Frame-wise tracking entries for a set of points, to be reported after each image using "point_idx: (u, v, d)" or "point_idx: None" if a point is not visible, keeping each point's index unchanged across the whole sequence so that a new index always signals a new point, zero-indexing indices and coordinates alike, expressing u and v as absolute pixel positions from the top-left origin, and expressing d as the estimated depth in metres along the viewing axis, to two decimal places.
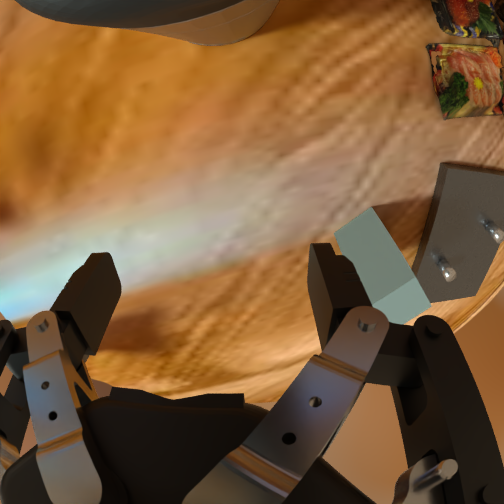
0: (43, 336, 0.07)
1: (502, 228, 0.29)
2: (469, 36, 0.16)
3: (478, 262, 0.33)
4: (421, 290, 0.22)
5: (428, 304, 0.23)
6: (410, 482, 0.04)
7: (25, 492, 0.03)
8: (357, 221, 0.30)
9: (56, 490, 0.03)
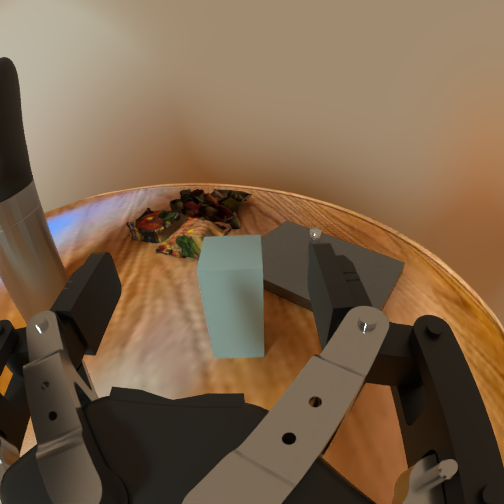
0: (43, 336, 0.07)
1: (324, 237, 0.44)
2: (165, 226, 0.48)
3: (352, 257, 0.40)
4: (226, 236, 0.27)
5: (254, 235, 0.27)
6: (410, 482, 0.04)
7: (25, 492, 0.03)
8: None
9: (56, 490, 0.03)
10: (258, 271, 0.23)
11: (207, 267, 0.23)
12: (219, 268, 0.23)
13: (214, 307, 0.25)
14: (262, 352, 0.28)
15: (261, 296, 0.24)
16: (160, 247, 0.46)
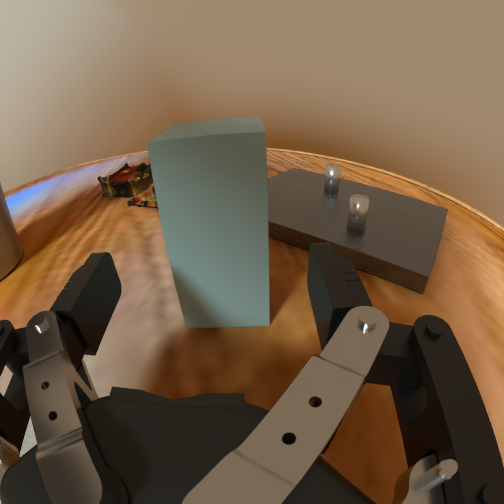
0: (43, 336, 0.07)
1: (343, 181, 0.33)
2: (142, 177, 0.37)
3: (383, 200, 0.29)
4: (207, 120, 0.16)
5: (250, 117, 0.16)
6: (410, 482, 0.04)
7: (25, 492, 0.03)
8: None
9: (56, 490, 0.03)
10: (258, 139, 0.12)
11: (167, 138, 0.12)
12: (186, 136, 0.12)
13: (180, 220, 0.14)
14: (266, 316, 0.17)
15: (263, 194, 0.13)
16: (133, 199, 0.35)
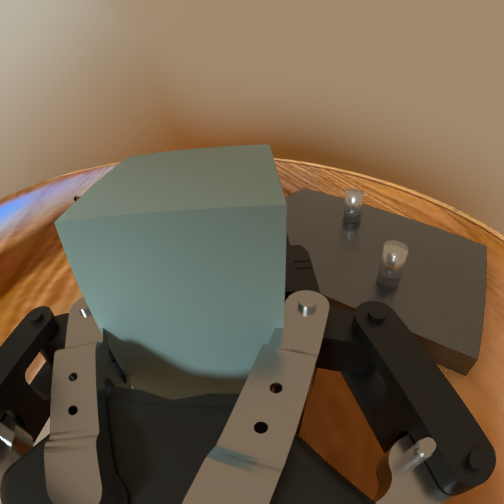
0: (85, 321, 0.08)
1: (364, 208, 0.27)
2: None
3: (414, 236, 0.22)
4: (180, 151, 0.10)
5: (252, 146, 0.10)
6: (391, 467, 0.05)
7: (26, 493, 0.03)
8: None
9: (56, 490, 0.03)
10: (270, 219, 0.06)
11: (89, 211, 0.06)
12: (121, 211, 0.06)
13: (135, 343, 0.08)
14: None
15: (277, 315, 0.07)
16: None
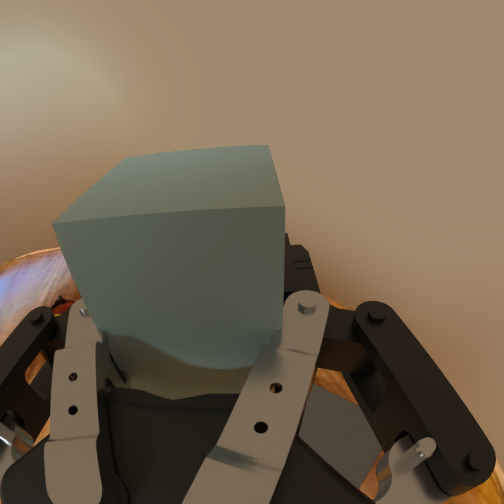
0: (85, 321, 0.08)
1: None
2: None
3: (314, 418, 0.23)
4: (178, 151, 0.10)
5: (251, 146, 0.09)
6: (391, 467, 0.05)
7: (25, 493, 0.03)
8: None
9: (56, 490, 0.03)
10: (268, 220, 0.06)
11: (87, 213, 0.06)
12: (118, 212, 0.06)
13: (133, 344, 0.08)
14: None
15: (276, 316, 0.07)
16: None
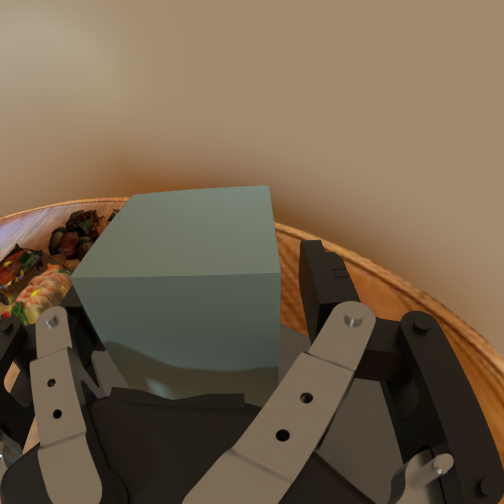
0: (52, 332, 0.07)
1: None
2: (15, 281, 0.24)
3: None
4: (183, 191, 0.10)
5: (252, 187, 0.10)
6: (406, 478, 0.04)
7: (25, 492, 0.03)
8: None
9: (56, 490, 0.03)
10: (266, 284, 0.06)
11: (102, 268, 0.07)
12: (132, 272, 0.06)
13: (146, 374, 0.08)
14: None
15: (273, 355, 0.08)
16: (2, 316, 0.21)
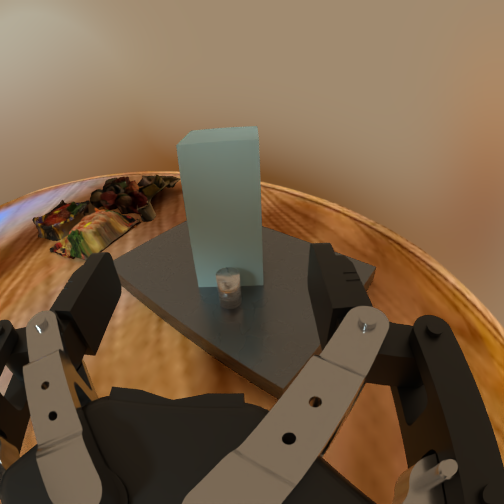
0: (43, 336, 0.07)
1: None
2: (66, 221, 0.35)
3: (288, 257, 0.26)
4: (217, 128, 0.21)
5: None
6: (410, 482, 0.04)
7: (25, 492, 0.03)
8: None
9: (56, 490, 0.03)
10: (253, 144, 0.17)
11: (190, 142, 0.17)
12: (204, 142, 0.17)
13: (198, 201, 0.19)
14: (260, 277, 0.23)
15: (257, 182, 0.19)
16: (55, 245, 0.32)
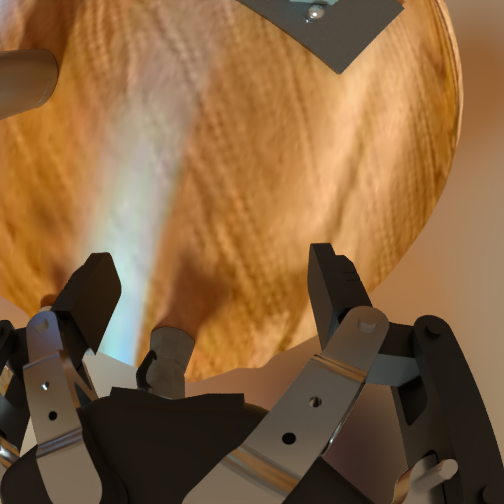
0: (42, 335, 0.07)
1: None
2: None
3: None
4: None
5: None
6: (410, 482, 0.04)
7: (25, 492, 0.03)
8: None
9: (56, 490, 0.03)
10: None
11: None
12: None
13: None
14: (332, 3, 0.24)
15: None
16: None
